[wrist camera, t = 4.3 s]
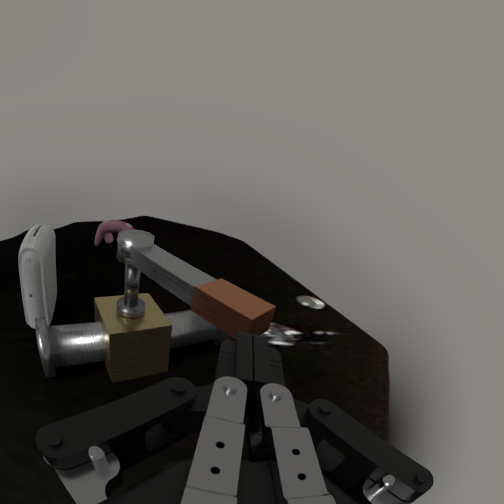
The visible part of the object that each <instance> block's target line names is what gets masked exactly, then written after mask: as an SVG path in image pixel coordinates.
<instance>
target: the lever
mask: <svg viewBox="0 0 504 504" xmlns="http://www.w3.org/2000/svg"><path fill="white" fill-rule="evenodd" d="M117 259H118V260H119V261H120V262H122V263H124V264H128V265H133V266H135V267H136V268H137V269H139V270H140V271H141V272H143V273H144V274H146V275H147V276H148V277H150V278H151V279H153V280H154V281H155V282H157V283H158V284H160V285H161V286H162V287H164V288H165V289H167V290H168V291H170V292H171V293H172V294H174V295H175V296H177V297H178V298H180V299H181V300H183V301H184V302H186V303H187V304H189V305H190V306H192V307H191V311H192V312H194V313H195V314H197V315H198V316H200V317H201V318H203V319H204V320H206V321H208V322H209V323H211V324H212V325H214V326H215V327H217V328H218V329H220V330H222V331H223V332H225V333H226V334H228V335H229V336H231V337H233V338H234V339H236V336H237V333H238V332H243V333H248V334H252V335H253V334H254V335H259V336H260V335H261V334H263V333H264V332H266V331H267V330H269V327H270V323H271V320H272V317H273V314H274V311H275V307H276V306H274V305H272V304H270V303H268V302H266V301H264V300H262V299H260V298H258V297H256V296H254V295H252V294H250V293H249V292H247V291H245V290H243V289H241V288H239V287H237V286H235V285H233V284H231V283H229V282H228V281H226V280H224V279H219V280H217V279H215V278H213V277H211V276H209V275H207V274H206V273H204V272H202V271H200V270H198V269H197V268H195V267H193V266H191V265H189V264H188V263H186V262H184V261H182V260H181V259H179V258H177V257H175V256H173V255H172V254H170V253H168V252H166V251H165V250H163V249H161V248H160V247H158V246H156V245H154V236H153V235H152V234H151V233H148V232H145V231H141V230H122V231H120V232H119V234H118V246H117Z"/></svg>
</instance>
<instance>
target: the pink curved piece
mask: <svg viewBox="0 0 504 504" xmlns="http://www.w3.org/2000/svg"><path fill="white" fill-rule="evenodd" d="M122 230H134V228H133V227H132V226H131V225H130V224H128V223H125V222H123V221H117V220H111V221H103V223H101V224H100V225H99V227H98V229H97V232H96V236H95V246H98V245H99V244H100V242H101V240H102V237H104V239H105V241H106V242H107V243H112V242H113V240H114V237H113V235H112V233H119V232H120V231H122ZM117 243H118V237H117Z"/></svg>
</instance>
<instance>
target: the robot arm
mask: <svg viewBox="0 0 504 504" xmlns="http://www.w3.org/2000/svg"><path fill="white" fill-rule="evenodd" d="M244 415H245V416H249V422H248V425H247V427H246V432H247V442H248V453H249V461H247V460H243V459H241V455H242V447H243V439H244V430H245V423H243V420H244ZM195 432H200V436H199V440H198V443H197V447H196V451H195V454H194V456H191V457H184V458H180V459H177V460H175V461H172V462H170V463H169V464H167V465H165V466H164V467H162V468H161V469H159V470H157V471H156V472H154V473H153V474H151V475H149V476H148V477H146V478H144V479H142V480H141V481H139V482H137V483H135V484H134V485H132V486H130V487H128V488H126V489H125V490H123V491H121V492H119V493H117V494H115V495H113V496H111V494H112V492H113V491H114V490H115V489H117V488H118V487H119V486H120V485H121V484H122V482H123V474H122V471H123V470H125V469H128V468H130V467H132V466H134V465H136V464H138V463H139V462H141V461H143V460H145V459H147V458H149V457H151V456H153V455H155V454H156V453H158V452H160V451H162V450H164V449H165V448H167V447H169V446H171V445H172V444H174V443H176V442H178V441H179V440H181V439H183V438H184V437H186V436H187V435H188V434H189V433H195ZM325 437H326V438H327V439H329V440H330V441H331V442H332V443H333V444H335V445H336V446H337V447H339V448H340V449H341V450H342V451H343V452H344V454H345V456H344V455H342V454H341V453H340V452H338V451H337V450H336V449H335V448H333V447H332V446H331V445H330V444H329V443H327V442H326V441H325V440H324V438H325ZM36 444H37V446H38V448H39V450H40V451H41V453H42V455H43V457H44V459H45V461H46V462H47V464H48V465H49V467H50V468H51V469H52V471H53V472H54V474H55V475H56V476H57V477H58V478H59V479H60V481H61V482H62V483H63V484H64V485H65V487H66V488H67V490H68V491H69V493H70V494H71V496H72V497H73V499H74V500H75V502H76V503H77V504H411V503H412V502H413V501H415V500H416V499H417V498H419V497H420V496H421V495H423V494H424V493H425V492H427V491H428V490H429V489H430V488H431V487H432V485H433V476H432V474H431V473H430V471H429V470H428V469H426V468H425V467H423V466H421V465H420V464H418V463H417V462H415V461H413V460H412V459H411V458H409V457H408V456H406V455H405V454H403V453H402V452H400V451H398V450H397V449H396V448H394V447H393V446H391V445H390V444H388V443H387V442H385V441H384V440H383V439H381V438H380V437H378V436H377V435H375V434H374V433H373V432H371V431H370V430H368V429H367V428H366V427H364V426H363V425H362V424H360V423H359V422H358V421H356V420H355V419H353V418H352V417H351V416H349V415H348V414H347V413H345V412H344V411H343V410H341V409H340V408H339V407H338V406H336V405H335V404H334V403H332V402H330V401H328V400H325V399H317V400H314V401H312V402H311V403H310V404H306V403H303V402H300V401H298V400H296V399H294V398H292V394H291V392H290V391H289V390H288V389H287V388H286V387H285V381H284V375H283V368H282V363H281V355H280V353H279V352H278V351H277V349H276V348H273V347H268V339H267V337H265V336H259V335H254V334H253V335H252V334H248V333H243V332H238V333H237V336H236V340H235V341H233V340H228V339H226V340H225V341H224V342H223V343H222V344H221V347H220V352H219V356H218V361H217V365H216V372H215V378H214V382H213V383H212V384H210V385H208V386H204V387H195V386H194V385H193V384H192V383H191V382H190V381H188V380H186V379H184V378H180V377H172V378H168V379H166V380H164V381H161V382H159V383H157V384H155V385H152V386H150V387H148V388H145V389H143V390H141V391H138V392H136V393H134V394H131V395H129V396H126V397H124V398H121V399H119V400H116V401H114V402H111V403H109V404H106V405H103V406H101V407H98V408H95V409H93V410H90V411H87V412H84V413H82V414H79V415H76V416H73V417H70V418H67V419H64V420H61V421H58V422H55V423H52V424H49V425H46V426H43V427H42V428H41V429H39V431H38V432H37V434H36Z"/></svg>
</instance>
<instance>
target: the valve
mask: <svg viewBox="0 0 504 504" xmlns="http://www.w3.org/2000/svg"><path fill="white" fill-rule="evenodd" d="M140 272H141V271H140V270H139V269H137V268H136V267H135V266H133V265H128V264H126V268H125V285H124V295H121V296H109V297H97V298H94V309H95V322H91V323H81V324H70V325H59V326H47V323H46V318H45V317H40V318H35V327H36V336H37V342H38V348H39V353H40V358H41V362H42V366H43V370H44V373H45V376H46V377H56V371H55V367H61V366H70V365H78V364H85V363H93V362H100V361H103V362H104V364H105V366H106V369H107V371H108V374H109V376H110V378H111V380H112V383H113V382H119V381H124V380H129V379H134V378H139V377H144V376H148V375H153V374H157V373H162V372H166V371H168V363H169V353H170V349H173V348H178V347H182V346H187V345H192V344H196V343H200V342H205V341H210V342H211V343H212V344H214V345H217V346H220V345H221V344H222V343H223V342H224V341H225V340H226V339H228V340H232V339H233V337H231V336H229V335H228V334H226V333H225V332H223V331H222V330H220V329H218V328H217V327H215V326H214V325H212V324H211V323H209V322H208V321H206V320H204V319H203V318H201V317H200V316H198V315H197V314H195V313H194V312H192V311H191V310H186V311H180V312H173V313H166V314H163V312H162V311H161V310H160V308H159V307H158V306H157V304H156V303H155V302H154V300H153V299H152V298H151V296H150V295H149V293H144V294H139V284H140Z"/></svg>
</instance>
